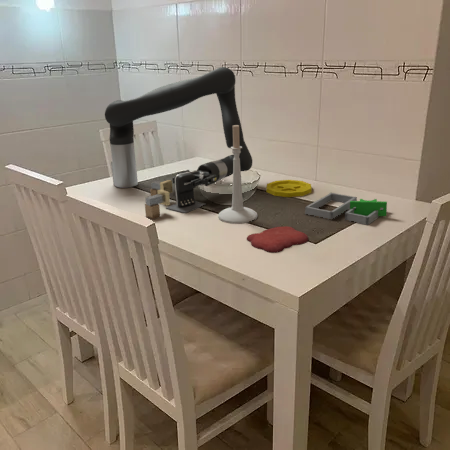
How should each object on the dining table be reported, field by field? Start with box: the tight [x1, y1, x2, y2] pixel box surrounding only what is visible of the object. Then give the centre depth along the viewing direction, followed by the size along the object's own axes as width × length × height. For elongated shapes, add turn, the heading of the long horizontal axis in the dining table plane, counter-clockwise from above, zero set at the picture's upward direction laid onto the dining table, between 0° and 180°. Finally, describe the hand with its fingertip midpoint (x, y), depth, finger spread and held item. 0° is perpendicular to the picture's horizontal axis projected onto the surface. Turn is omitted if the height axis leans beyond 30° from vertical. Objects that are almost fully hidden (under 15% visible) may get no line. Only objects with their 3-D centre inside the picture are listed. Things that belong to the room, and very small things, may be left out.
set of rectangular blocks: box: [144, 179, 173, 220], centre depth 166 cm, size 8×23×8 cm, turn 2°
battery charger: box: [174, 172, 197, 207], centre depth 165 cm, size 7×4×11 cm, turn 128°
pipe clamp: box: [349, 198, 388, 217], centre depth 153 cm, size 11×4×5 cm, turn 75°
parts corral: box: [304, 192, 383, 226], centre depth 157 cm, size 21×19×2 cm
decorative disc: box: [265, 179, 313, 198], centre depth 182 cm, size 17×18×2 cm
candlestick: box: [217, 125, 258, 225], centre depth 151 cm, size 13×13×30 cm
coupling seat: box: [165, 200, 207, 214], centre depth 167 cm, size 9×11×1 cm
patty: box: [246, 225, 309, 254], centre depth 138 cm, size 18×14×2 cm
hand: (182, 182), depth 163 cm, fingers open, 8 cm apart
